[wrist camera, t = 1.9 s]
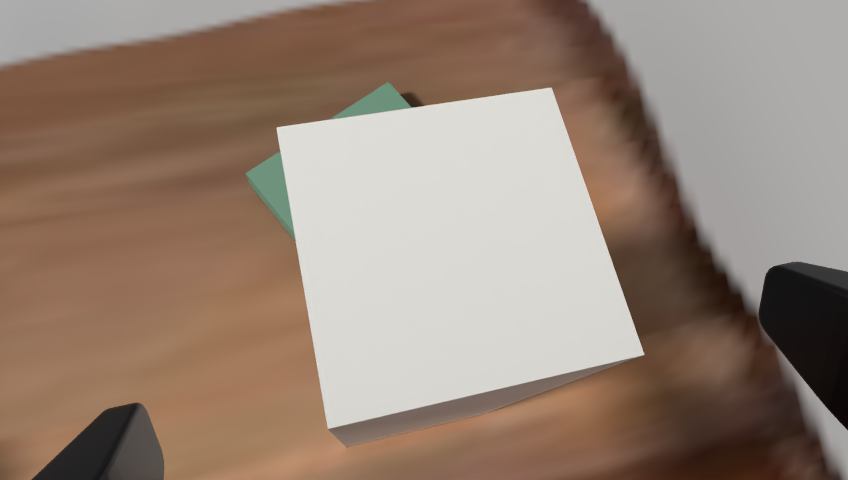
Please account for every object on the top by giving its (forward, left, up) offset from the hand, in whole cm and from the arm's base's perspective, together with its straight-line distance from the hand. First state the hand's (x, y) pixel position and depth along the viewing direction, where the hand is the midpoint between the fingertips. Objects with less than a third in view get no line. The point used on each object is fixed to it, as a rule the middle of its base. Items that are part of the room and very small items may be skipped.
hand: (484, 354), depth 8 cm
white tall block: (+2, -1, -12) cm, 12 cm away
